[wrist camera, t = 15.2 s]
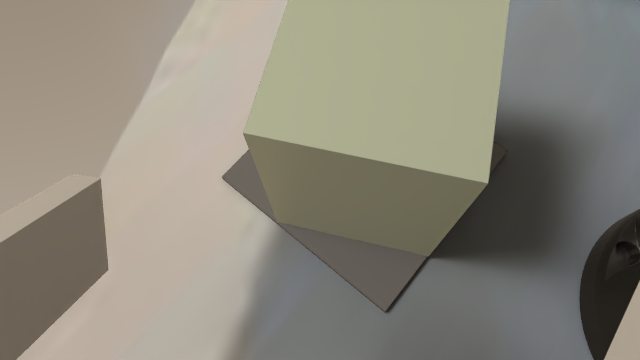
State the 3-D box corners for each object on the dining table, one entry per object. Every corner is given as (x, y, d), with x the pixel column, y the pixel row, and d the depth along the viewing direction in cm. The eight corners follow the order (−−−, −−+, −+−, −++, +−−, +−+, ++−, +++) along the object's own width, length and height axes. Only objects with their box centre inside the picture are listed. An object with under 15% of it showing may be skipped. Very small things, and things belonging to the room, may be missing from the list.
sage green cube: (450, 121, 33) (510, -11, 22) (428, 256, 30) (488, 183, 18) (313, 95, 34) (303, -44, 23) (277, 221, 31) (242, 132, 19)
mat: (348, 50, 36) (348, 47, 36) (505, 153, 33) (507, 150, 32) (222, 179, 32) (221, 176, 32) (384, 312, 29) (385, 311, 28)
